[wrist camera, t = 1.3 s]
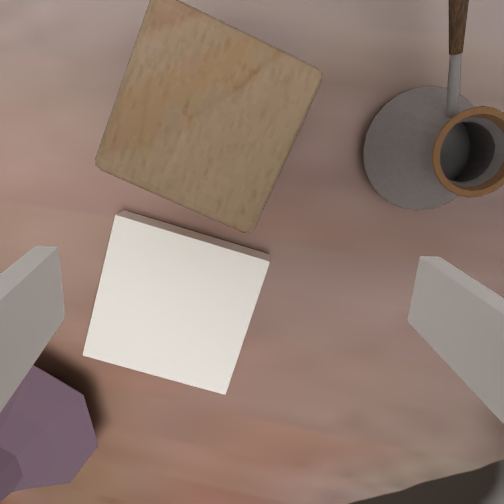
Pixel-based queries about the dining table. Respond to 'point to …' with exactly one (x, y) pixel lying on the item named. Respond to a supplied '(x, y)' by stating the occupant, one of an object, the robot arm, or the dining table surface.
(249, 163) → the wooden block
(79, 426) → the flask
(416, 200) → the coffee pot
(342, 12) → the dining table surface
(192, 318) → the white square plate
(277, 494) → the dining table surface
